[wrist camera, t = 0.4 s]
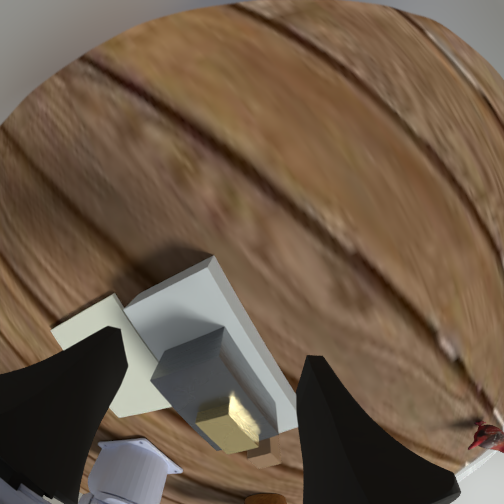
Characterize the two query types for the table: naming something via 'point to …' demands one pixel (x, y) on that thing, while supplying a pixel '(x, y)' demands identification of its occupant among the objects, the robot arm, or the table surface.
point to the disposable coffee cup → (265, 499)
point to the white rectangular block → (205, 321)
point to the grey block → (217, 392)
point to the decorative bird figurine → (488, 437)
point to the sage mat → (137, 352)
